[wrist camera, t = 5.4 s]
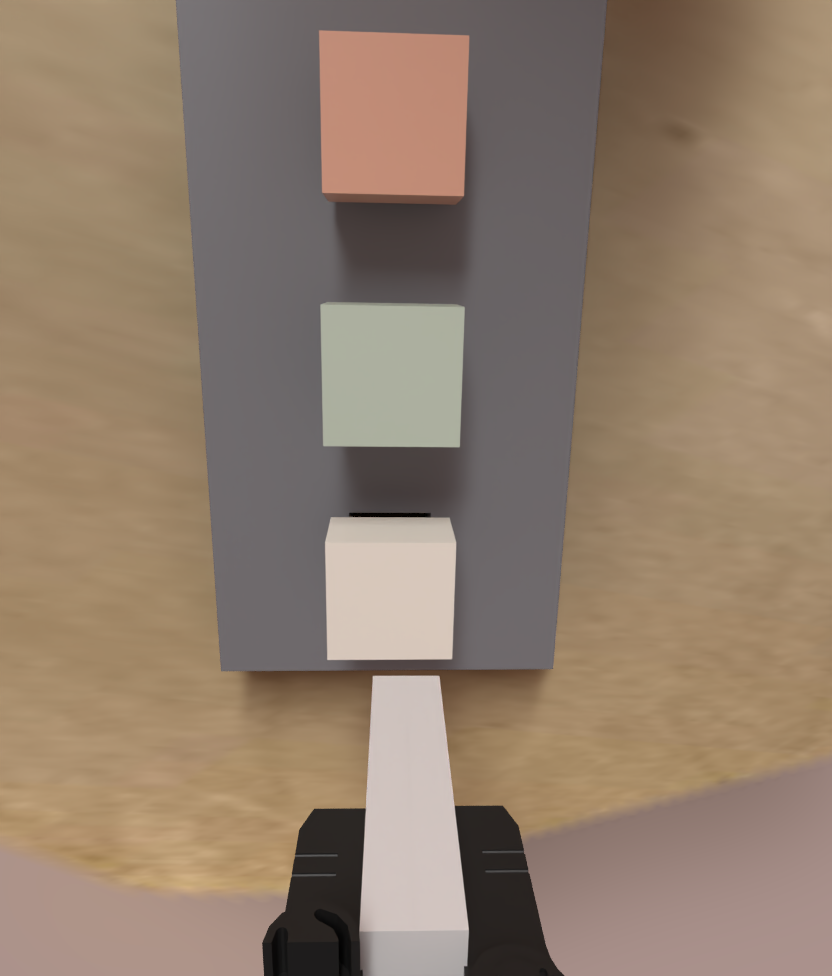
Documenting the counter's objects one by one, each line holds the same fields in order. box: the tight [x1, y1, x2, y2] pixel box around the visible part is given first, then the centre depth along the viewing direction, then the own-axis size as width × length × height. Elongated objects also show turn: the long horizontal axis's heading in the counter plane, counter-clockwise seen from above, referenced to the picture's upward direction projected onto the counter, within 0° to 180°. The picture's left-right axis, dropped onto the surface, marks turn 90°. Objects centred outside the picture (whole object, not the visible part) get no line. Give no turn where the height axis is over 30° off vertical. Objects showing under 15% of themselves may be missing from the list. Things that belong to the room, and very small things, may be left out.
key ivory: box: [325, 517, 456, 660], centre depth 25 cm, size 4×4×5 cm
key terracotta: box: [319, 30, 469, 205], centre depth 22 cm, size 4×4×5 cm
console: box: [176, 0, 607, 671], centre depth 26 cm, size 13×24×3 cm, turn 179°
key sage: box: [320, 302, 465, 447], centre depth 23 cm, size 4×4×5 cm
